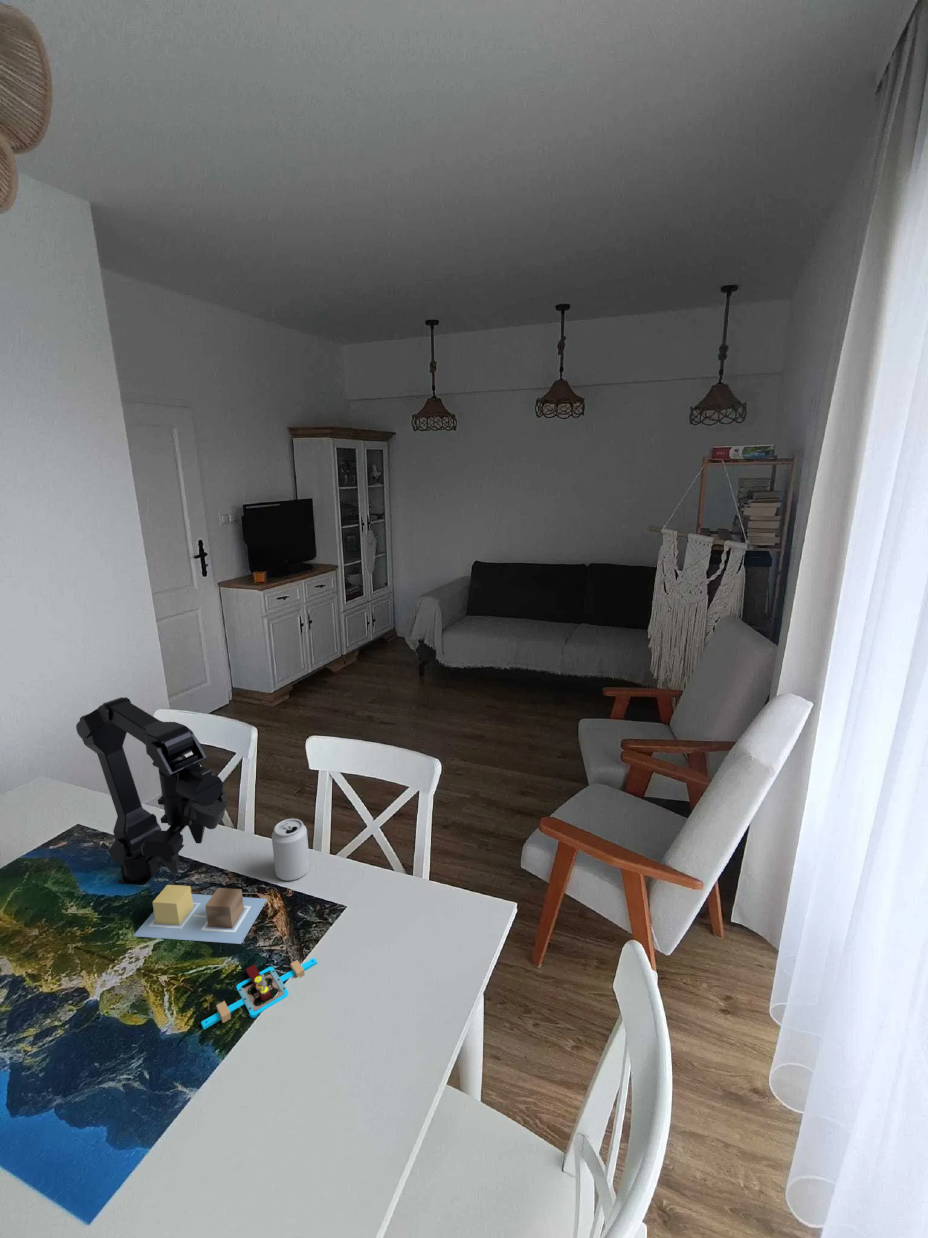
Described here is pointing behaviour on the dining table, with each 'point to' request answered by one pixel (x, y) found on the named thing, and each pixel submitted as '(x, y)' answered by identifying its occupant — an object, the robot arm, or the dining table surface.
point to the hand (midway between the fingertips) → (187, 857)
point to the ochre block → (173, 904)
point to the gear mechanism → (261, 989)
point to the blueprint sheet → (204, 924)
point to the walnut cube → (224, 908)
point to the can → (290, 849)
